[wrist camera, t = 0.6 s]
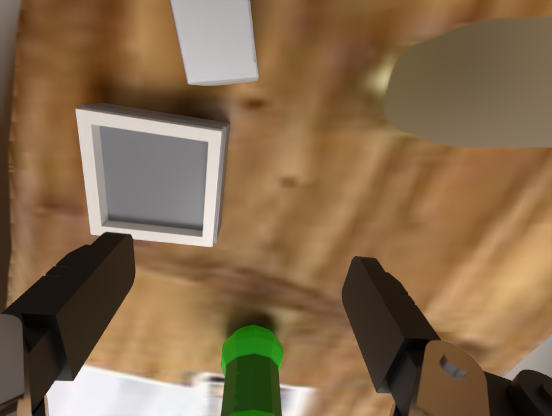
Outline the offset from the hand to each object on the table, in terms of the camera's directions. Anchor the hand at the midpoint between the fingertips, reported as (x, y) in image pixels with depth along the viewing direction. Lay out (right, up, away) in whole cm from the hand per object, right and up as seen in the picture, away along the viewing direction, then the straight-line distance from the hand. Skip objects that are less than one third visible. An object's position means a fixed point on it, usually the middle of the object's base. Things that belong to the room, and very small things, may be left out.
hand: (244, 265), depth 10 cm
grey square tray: (-12, +7, +23) cm, 27 cm away
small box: (-4, +20, +18) cm, 27 cm away
